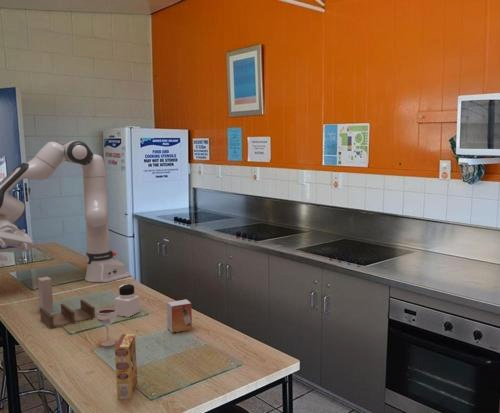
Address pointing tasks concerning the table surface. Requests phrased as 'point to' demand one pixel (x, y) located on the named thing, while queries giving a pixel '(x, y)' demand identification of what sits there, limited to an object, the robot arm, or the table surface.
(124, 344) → the candy box
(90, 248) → the robot arm
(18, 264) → the table surface
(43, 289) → the tall gray rectangular block
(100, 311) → the wineglass
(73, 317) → the rack
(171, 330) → the small box
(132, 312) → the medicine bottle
